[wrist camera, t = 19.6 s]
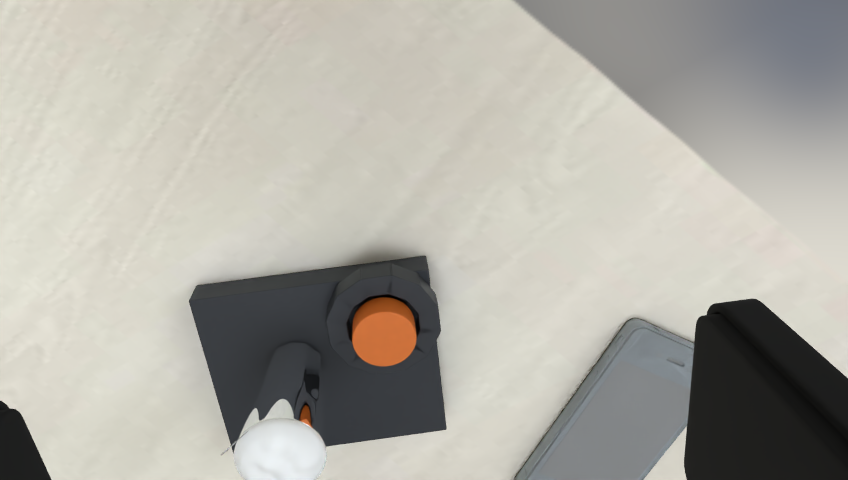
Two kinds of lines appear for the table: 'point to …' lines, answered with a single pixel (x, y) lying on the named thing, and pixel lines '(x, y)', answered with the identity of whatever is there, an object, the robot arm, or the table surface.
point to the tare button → (383, 331)
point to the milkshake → (285, 419)
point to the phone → (620, 411)
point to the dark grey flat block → (325, 346)
